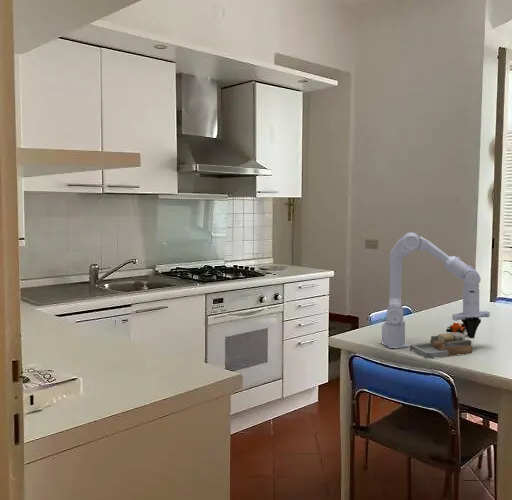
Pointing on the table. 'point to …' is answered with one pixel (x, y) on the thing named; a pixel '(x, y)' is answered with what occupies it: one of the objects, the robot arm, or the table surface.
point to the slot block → (452, 346)
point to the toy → (456, 328)
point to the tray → (428, 350)
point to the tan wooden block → (445, 338)
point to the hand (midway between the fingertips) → (471, 337)
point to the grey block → (458, 336)
